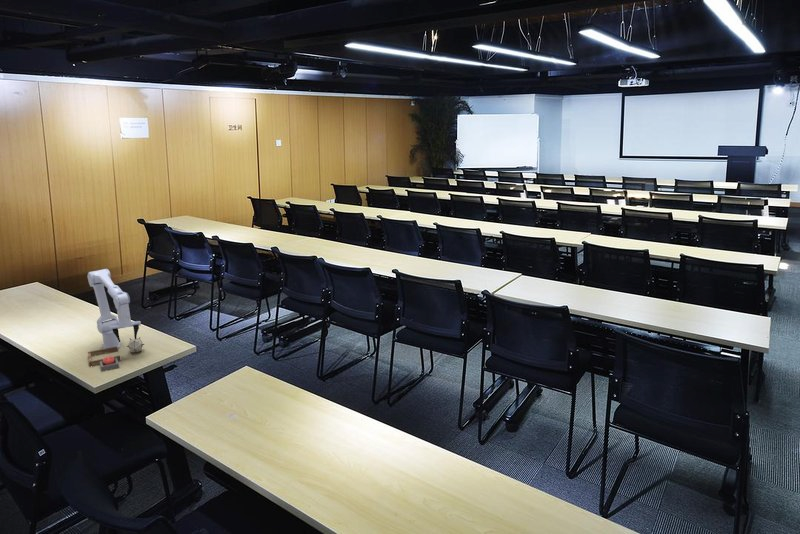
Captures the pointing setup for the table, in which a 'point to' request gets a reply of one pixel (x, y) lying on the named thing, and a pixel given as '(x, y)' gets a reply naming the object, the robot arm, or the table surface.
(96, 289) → the robot arm
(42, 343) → the table surface
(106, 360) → the dome button
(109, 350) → the corral
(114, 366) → the button collar
